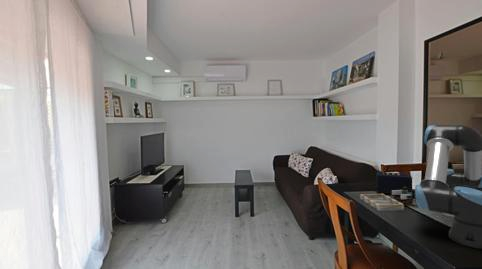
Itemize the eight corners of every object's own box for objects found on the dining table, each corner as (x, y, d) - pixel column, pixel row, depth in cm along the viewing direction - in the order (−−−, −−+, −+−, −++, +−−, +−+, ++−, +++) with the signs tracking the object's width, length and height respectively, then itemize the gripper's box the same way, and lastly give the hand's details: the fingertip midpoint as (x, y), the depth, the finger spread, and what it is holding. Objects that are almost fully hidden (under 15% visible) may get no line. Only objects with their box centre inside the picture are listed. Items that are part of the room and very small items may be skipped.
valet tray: (403, 210, 151) (403, 204, 151) (378, 211, 151) (378, 205, 151) (382, 198, 173) (382, 193, 173) (360, 199, 173) (360, 194, 173)
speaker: (409, 192, 185) (409, 172, 184) (412, 197, 174) (412, 176, 173) (376, 189, 195) (376, 170, 194) (376, 194, 184) (376, 174, 183)
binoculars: (391, 187, 166) (406, 185, 166) (392, 202, 167) (407, 200, 167) (399, 190, 157) (415, 188, 157) (400, 207, 158) (416, 205, 158)
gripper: (444, 204, 152) (407, 205, 152) (419, 194, 173) (386, 195, 173) (444, 192, 151) (407, 193, 151) (419, 183, 172) (386, 184, 172)
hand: (396, 194), depth 162 cm, fingers closed on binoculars, 8 cm apart
